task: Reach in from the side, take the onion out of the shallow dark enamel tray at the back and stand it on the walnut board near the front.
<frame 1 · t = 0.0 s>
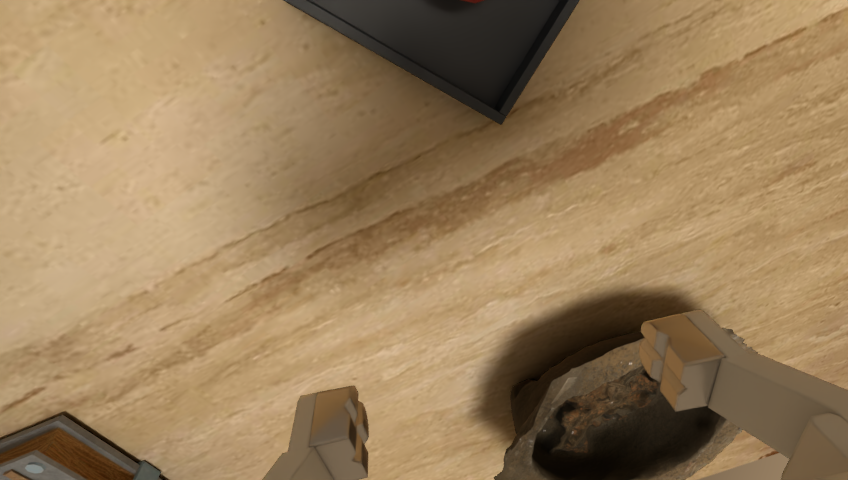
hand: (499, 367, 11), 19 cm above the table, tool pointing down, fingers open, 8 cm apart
stone bowl: (598, 375, 42), on the table
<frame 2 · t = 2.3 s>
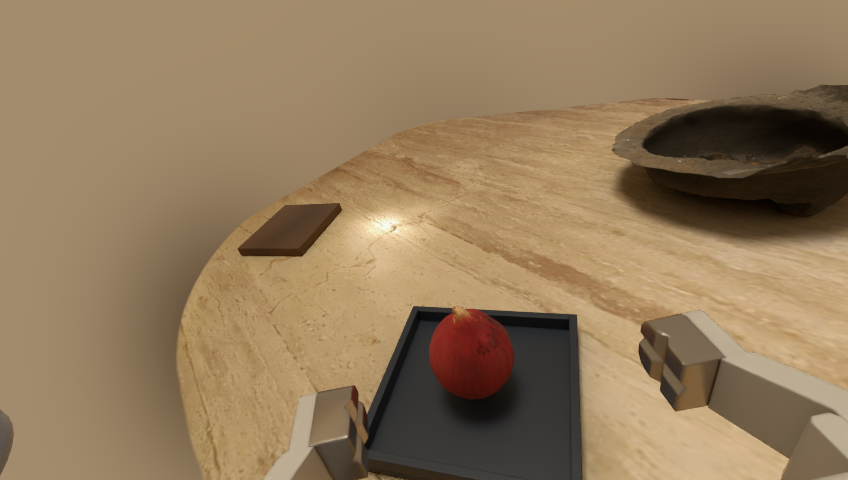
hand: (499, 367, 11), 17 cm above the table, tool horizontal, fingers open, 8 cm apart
tray: (478, 391, 31), on the table
onion: (477, 389, 30), resting on tray
stone bowl: (725, 185, 48), on the table
board: (294, 231, 59), on the table
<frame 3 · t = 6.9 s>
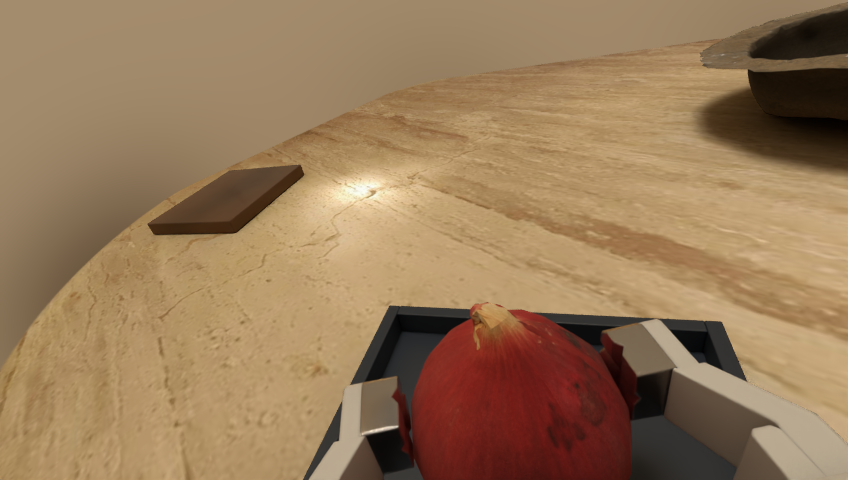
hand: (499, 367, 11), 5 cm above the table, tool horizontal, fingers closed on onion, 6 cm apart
board: (234, 202, 42), on the table
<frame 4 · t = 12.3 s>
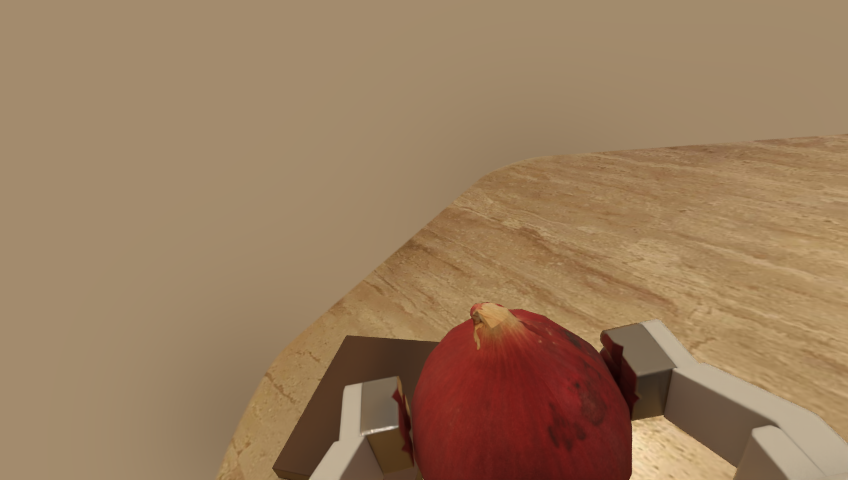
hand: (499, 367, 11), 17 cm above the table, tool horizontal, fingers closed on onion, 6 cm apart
board: (375, 408, 31), on the table
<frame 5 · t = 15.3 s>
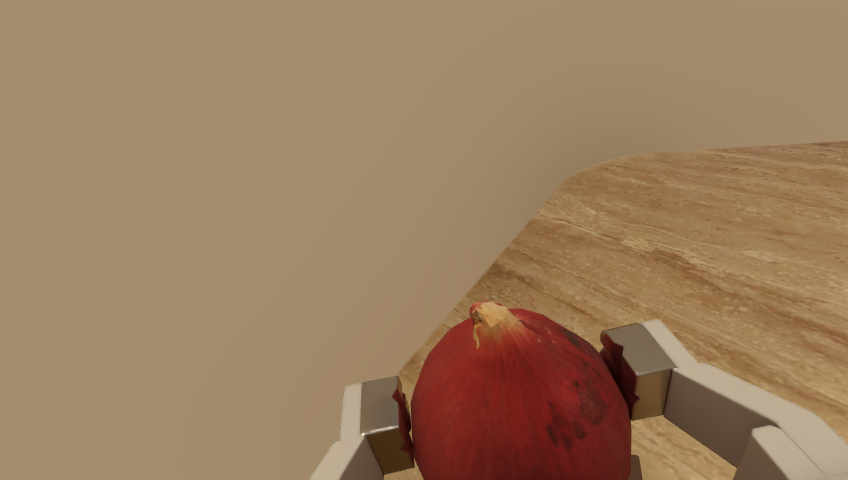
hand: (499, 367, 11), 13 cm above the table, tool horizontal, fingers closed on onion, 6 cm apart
when the fingers open (6 cm above the table, at t = 17.7 s): onion stays where it is, resting on board.
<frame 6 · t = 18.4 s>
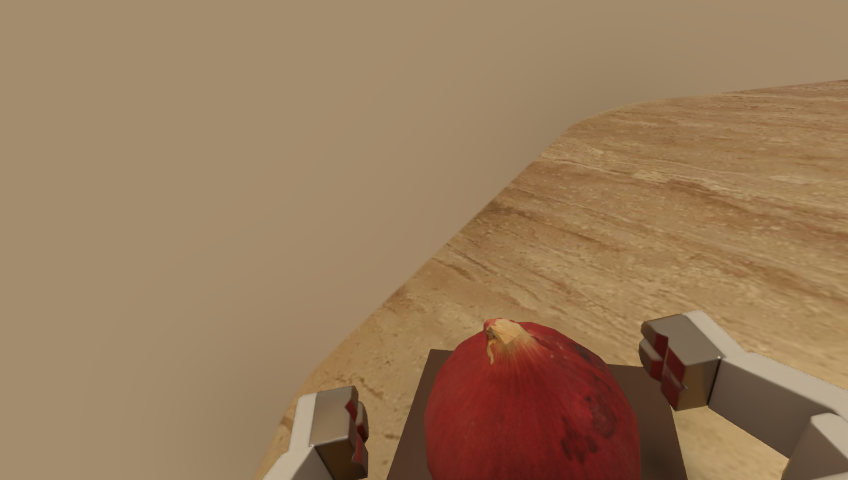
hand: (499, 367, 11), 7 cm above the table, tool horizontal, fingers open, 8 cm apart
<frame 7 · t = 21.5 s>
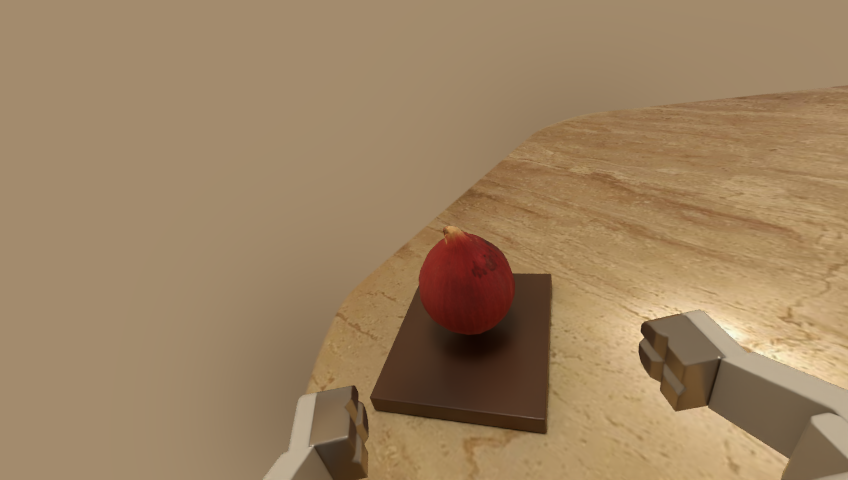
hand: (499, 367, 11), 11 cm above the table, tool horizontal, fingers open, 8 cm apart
onion: (474, 330, 27), point 1 cm above the table, touching board
board: (472, 341, 28), on the table
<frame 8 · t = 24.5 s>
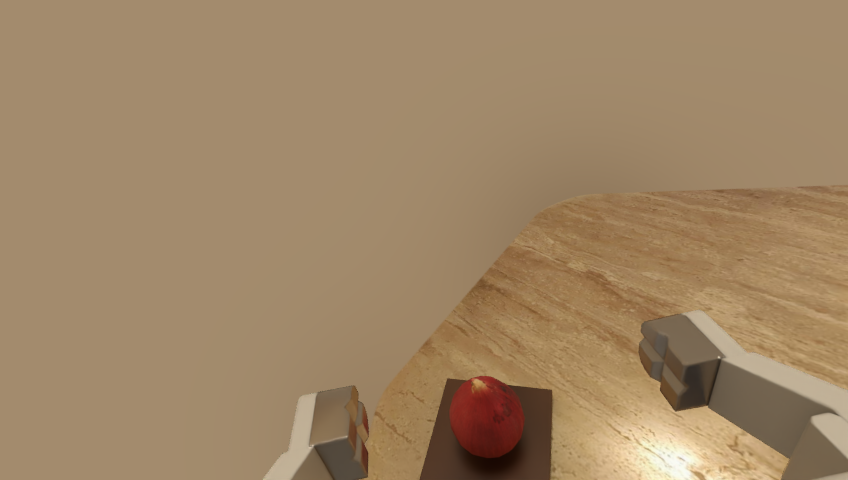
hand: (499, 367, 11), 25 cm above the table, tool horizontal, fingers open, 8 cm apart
onion: (491, 443, 34), point 1 cm above the table, touching board
board: (489, 450, 35), on the table
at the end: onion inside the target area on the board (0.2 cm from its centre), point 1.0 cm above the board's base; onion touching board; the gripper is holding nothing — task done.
